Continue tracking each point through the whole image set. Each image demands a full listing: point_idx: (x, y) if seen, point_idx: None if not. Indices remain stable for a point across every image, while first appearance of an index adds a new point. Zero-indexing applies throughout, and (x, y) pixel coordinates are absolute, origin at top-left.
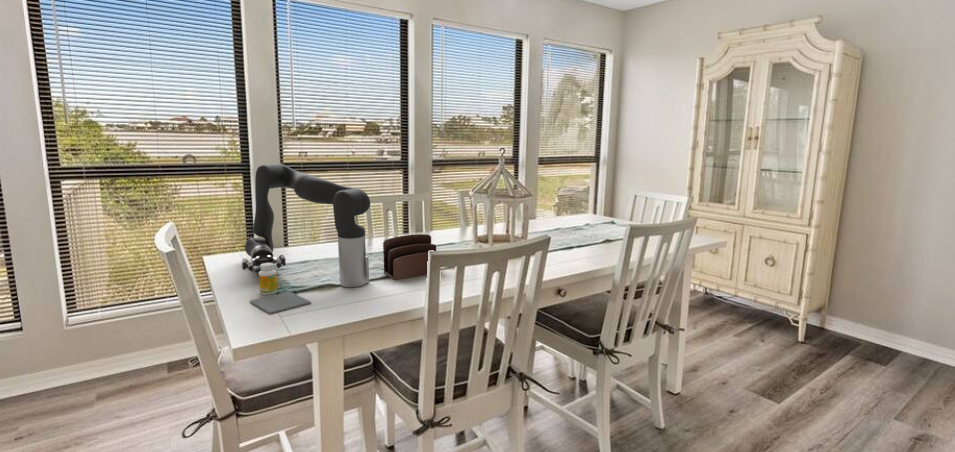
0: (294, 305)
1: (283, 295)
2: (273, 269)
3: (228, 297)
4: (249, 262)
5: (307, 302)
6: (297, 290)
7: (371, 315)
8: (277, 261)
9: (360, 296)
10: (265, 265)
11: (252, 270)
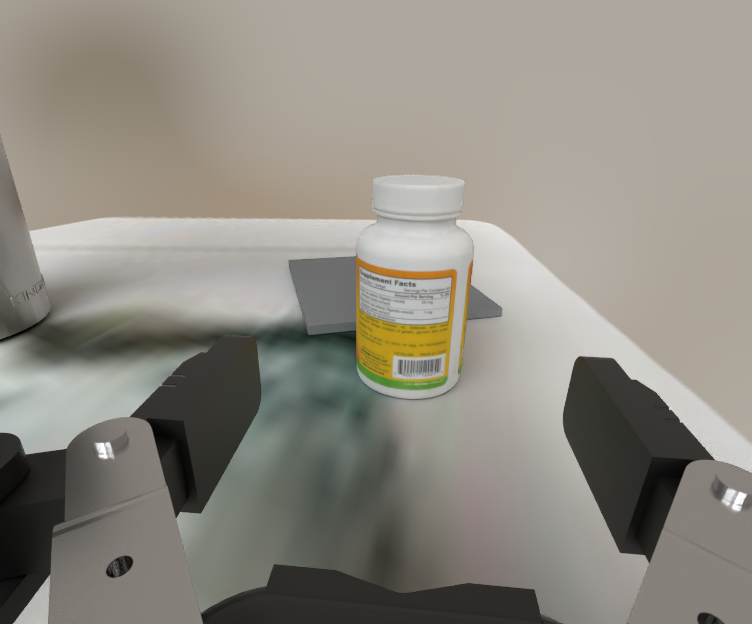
0: (347, 258)
1: (353, 306)
2: (373, 226)
3: (651, 389)
4: (722, 468)
5: (300, 260)
6: None
7: (214, 220)
8: (215, 365)
9: (119, 260)
10: (429, 176)
11: (572, 414)
